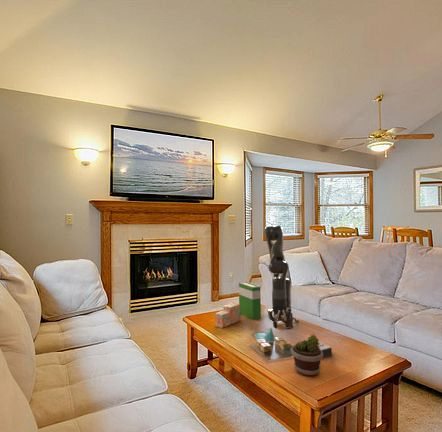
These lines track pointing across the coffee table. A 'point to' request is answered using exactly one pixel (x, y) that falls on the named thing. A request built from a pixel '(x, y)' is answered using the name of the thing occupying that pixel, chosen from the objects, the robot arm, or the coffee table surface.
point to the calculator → (324, 349)
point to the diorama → (265, 335)
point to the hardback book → (250, 300)
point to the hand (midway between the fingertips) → (279, 327)
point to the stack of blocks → (228, 315)
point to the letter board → (274, 348)
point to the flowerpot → (307, 356)
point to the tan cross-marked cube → (280, 325)
